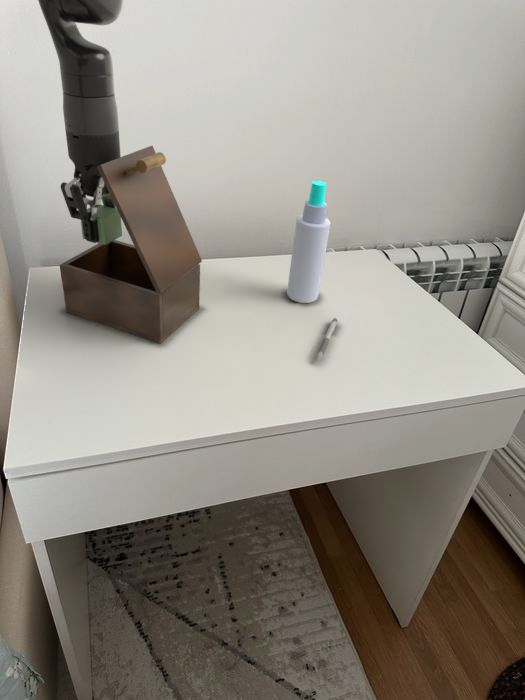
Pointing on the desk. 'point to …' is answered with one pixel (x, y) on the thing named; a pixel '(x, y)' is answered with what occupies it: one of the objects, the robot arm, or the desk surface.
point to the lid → (151, 215)
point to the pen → (326, 339)
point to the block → (107, 224)
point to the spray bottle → (309, 247)
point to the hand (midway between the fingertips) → (102, 235)
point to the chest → (126, 292)
